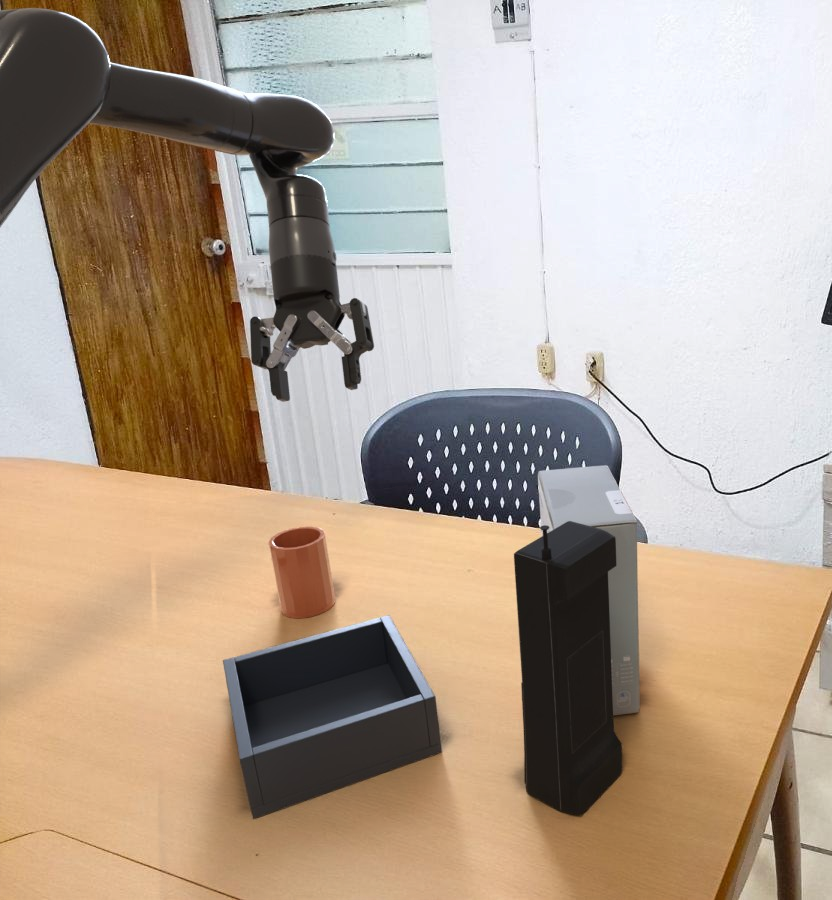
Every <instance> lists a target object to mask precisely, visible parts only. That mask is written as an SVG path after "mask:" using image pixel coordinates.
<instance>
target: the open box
mask: <svg viewBox="0 0 832 900" xmlns="http://www.w3.org/2000/svg"><path fill="white" fill-rule="evenodd" d="M222 665H223V671H224V676H225V682H226V688H227V692H228V700H229V705H230V711H231V712H230V713H231V717H232V723H233V728H234V730H233V731H234V736H235V742H236V747H237V753H238V759H239V764H240V767H241V772H242V776H243V781H244V782H243V783H244V786H245V789H246V791H245V792H246V795H247V799H248V803H249V804H248V805H249V808H250V813H251V817H252V819H253V820H255V819H258V818H260V817H264V816H266V815H269V814H272V813H275V812H278V811H281V810H283V809H286V808H288V807H291V806H294V805H297V804H300V803H303V802H306V801H308V800H311V799H315V798H317V797H320V796H323V795H325V794H328V793H331V792H334V791H337V790H340V789H342V788H345V787H347V786H351V785H354V784H356V783H359V782H362V781H364V780H368V779H370V778H373V777H376V776H380V775H382V774H385V773H387V772H391V771H393V770H396V769H400V768H402V767H405V766H407V765H410V764H413V763H416V762H418V761H421V760H424V759H426V758H430V757H432V756H436V755H439V754H441V753H442V752H443V748H442V740H441V733H440V725H439V724H440V723H439V716H438V715H439V714H438V705H437V699H436V695H435V694H434V691H433V689H432V688H431V686H430V684H429V683H428V681H427V679H426V678H425V676H424V674H423V672H422V670H421V668H420V666H419V665H418V663H417V661H416V659H415V657H414V655H413V654H412V652H411V651H410V649H409V647H408V646H407V644H406V642H405V641H404V638H403V637H402V634H401V633H400V631H399V630H398V628H397V625H396V624H395V623H394V621H393V618H392V617H391V616H390V615H389V614H387V615H384V616H380V617H376V618H372V619H369V620H366V621H361V622H358V623H354V624H351V625H347V626H343V627H340V628H336V629H332V630H329V631H324V632H321V633H318V634H314V635H311V636H306V637H303V638H300V639H296V640H292V641H289V642H288V641H287V642H285V643H281V644H278V645H273V646H271V647H267V648H262V649H259V650H255V651H252V652H248V653H245V654H241V655H238V656H234V657H230V658H225V659H223V660H222Z"/></svg>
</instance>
